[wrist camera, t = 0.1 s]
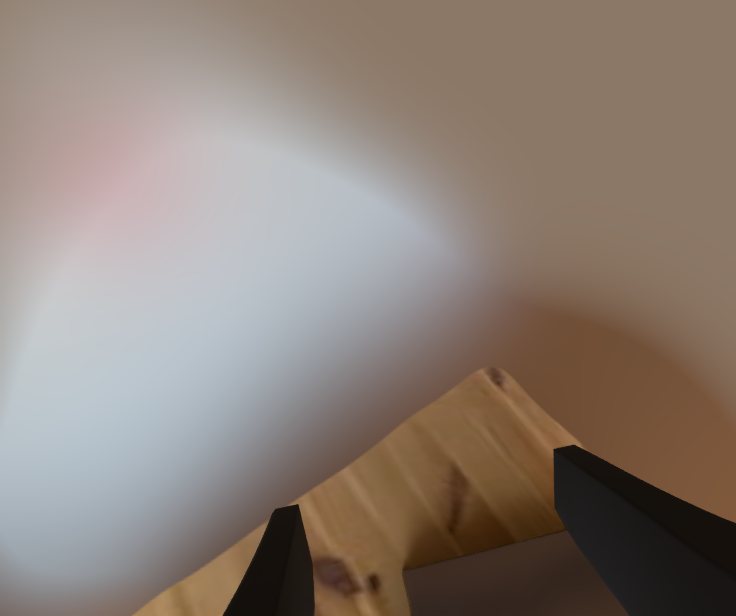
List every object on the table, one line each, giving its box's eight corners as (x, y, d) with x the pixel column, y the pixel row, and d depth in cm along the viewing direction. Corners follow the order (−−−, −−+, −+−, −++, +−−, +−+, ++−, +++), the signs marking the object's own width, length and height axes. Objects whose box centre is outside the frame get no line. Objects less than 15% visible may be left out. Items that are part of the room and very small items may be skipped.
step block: (613, 634, 35) (641, 642, 31) (426, 686, 34) (431, 701, 30) (569, 528, 39) (589, 524, 35) (401, 570, 38) (403, 571, 34)
